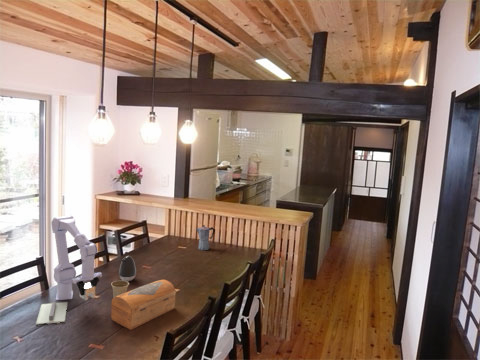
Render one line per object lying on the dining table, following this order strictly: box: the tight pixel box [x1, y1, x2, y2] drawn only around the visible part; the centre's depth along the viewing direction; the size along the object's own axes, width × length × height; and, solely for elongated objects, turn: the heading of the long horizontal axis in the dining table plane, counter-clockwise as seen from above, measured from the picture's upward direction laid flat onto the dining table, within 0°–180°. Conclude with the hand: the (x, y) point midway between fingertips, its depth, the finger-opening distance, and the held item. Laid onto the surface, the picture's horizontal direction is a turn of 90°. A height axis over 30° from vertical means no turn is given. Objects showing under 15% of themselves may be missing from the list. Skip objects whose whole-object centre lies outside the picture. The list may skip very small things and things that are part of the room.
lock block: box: [79, 282, 96, 301], centre depth 188 cm, size 6×5×6 cm
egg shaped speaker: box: [118, 255, 137, 282], centre depth 229 cm, size 10×10×15 cm
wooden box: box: [110, 279, 177, 330], centre depth 189 cm, size 30×16×14 cm, turn 146°
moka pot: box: [195, 224, 215, 251], centre depth 303 cm, size 10×15×20 cm, turn 107°
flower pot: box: [110, 280, 130, 299], centre depth 203 cm, size 9×9×9 cm
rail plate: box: [35, 300, 68, 325], centre depth 182 cm, size 20×12×3 cm, turn 21°
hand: (87, 293), depth 188 cm, fingers closed on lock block, 5 cm apart
